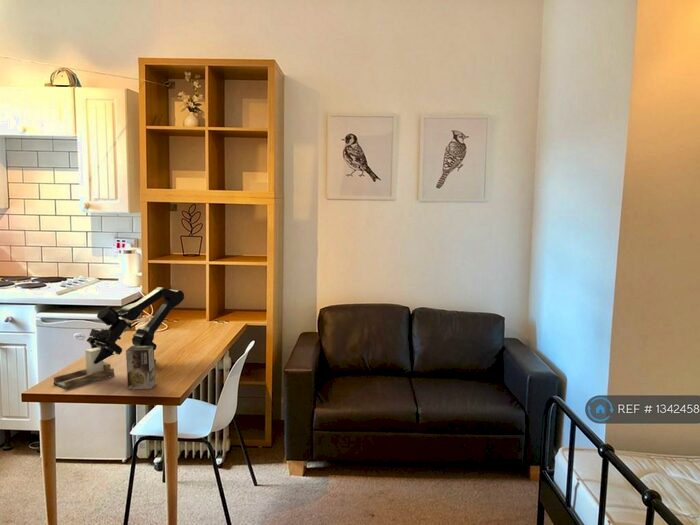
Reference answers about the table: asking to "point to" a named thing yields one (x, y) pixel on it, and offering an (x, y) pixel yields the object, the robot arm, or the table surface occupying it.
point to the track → (82, 377)
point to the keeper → (90, 358)
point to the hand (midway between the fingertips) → (91, 362)
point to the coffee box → (140, 367)
